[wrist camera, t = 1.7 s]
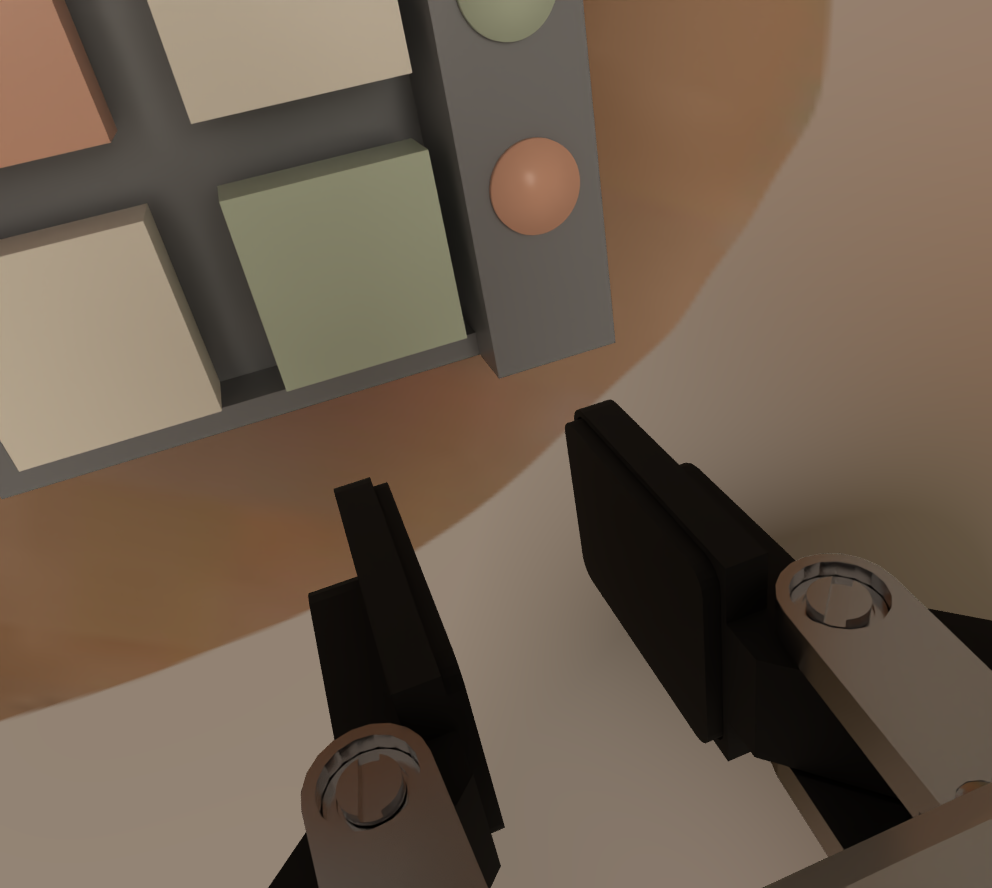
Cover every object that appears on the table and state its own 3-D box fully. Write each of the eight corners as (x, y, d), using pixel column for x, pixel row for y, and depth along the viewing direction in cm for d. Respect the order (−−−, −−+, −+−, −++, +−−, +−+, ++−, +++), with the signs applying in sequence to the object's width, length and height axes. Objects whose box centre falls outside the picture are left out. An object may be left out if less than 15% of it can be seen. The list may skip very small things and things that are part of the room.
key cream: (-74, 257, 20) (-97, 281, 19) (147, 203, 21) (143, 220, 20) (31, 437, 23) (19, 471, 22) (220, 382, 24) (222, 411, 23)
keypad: (-289, -133, 19) (-507, -188, 13) (460, -249, 23) (555, -335, 17) (30, 423, 28) (-15, 542, 22) (537, 277, 31) (618, 345, 25)
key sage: (217, 186, 22) (218, 202, 20) (411, 138, 23) (428, 149, 21) (280, 365, 25) (286, 392, 23) (449, 315, 26) (467, 338, 24)
